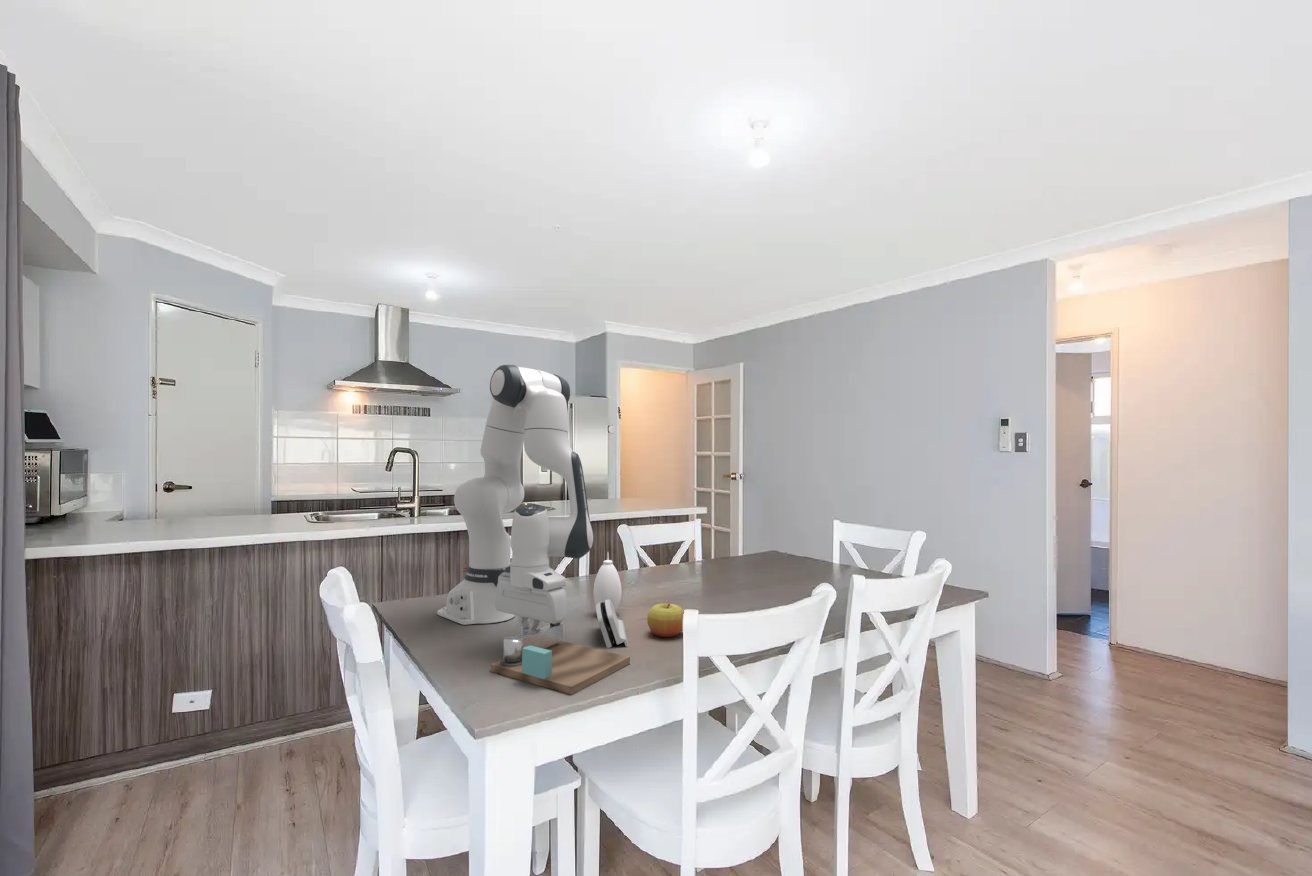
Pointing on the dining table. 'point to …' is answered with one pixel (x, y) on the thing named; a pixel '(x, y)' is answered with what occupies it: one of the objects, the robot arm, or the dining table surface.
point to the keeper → (537, 662)
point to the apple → (665, 619)
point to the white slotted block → (610, 624)
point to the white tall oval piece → (607, 584)
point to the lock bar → (532, 641)
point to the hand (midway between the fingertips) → (528, 635)
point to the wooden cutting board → (568, 667)
